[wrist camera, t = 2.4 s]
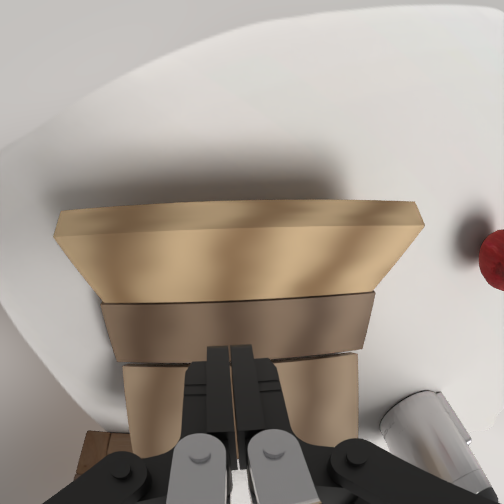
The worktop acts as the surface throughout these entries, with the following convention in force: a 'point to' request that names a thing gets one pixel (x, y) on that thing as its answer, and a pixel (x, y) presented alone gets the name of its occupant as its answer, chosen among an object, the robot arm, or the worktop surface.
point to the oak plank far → (293, 387)
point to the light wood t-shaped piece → (101, 448)
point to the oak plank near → (236, 248)
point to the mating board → (238, 327)
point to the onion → (493, 259)
